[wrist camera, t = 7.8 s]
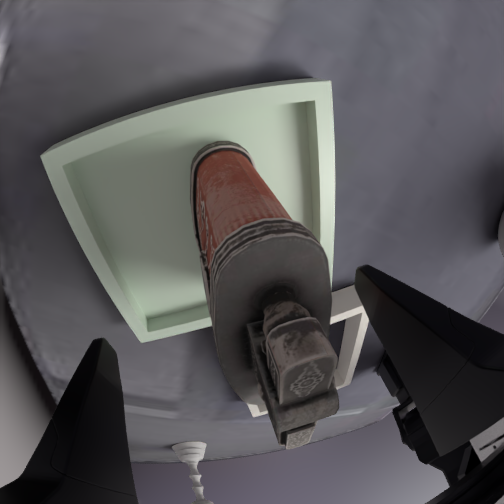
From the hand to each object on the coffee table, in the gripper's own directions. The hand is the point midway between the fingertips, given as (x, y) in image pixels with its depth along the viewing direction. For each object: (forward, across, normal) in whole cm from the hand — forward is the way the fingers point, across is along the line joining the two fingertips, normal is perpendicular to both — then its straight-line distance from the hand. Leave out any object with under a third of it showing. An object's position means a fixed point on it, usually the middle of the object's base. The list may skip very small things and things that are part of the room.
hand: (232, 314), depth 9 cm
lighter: (+6, -1, 0) cm, 6 cm away
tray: (+6, 0, 0) cm, 6 cm away
